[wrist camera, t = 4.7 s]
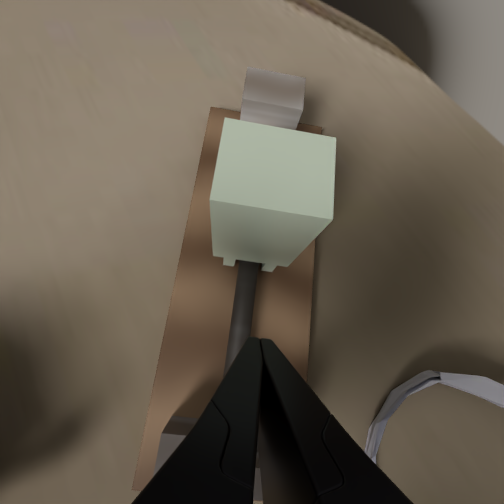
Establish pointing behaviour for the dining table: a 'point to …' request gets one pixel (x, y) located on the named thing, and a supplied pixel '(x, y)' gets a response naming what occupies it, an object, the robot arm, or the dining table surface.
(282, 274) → the cord board
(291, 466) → the robot arm
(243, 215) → the pale green box
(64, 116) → the dining table surface
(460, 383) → the headphones
